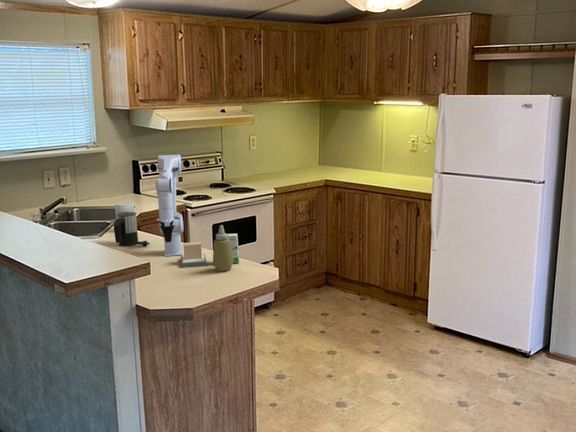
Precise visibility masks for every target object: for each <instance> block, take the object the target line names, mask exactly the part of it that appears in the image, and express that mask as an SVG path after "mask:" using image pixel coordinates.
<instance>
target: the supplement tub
mask: <svg viewBox="0 0 576 432" xmlns="http://www.w3.org/2000/svg"><path fill="white" fill-rule="evenodd" d="M114 210H115V211H114V212H115V213H114V214H115V220H117V219H118V215H117V214H119V213H124V212H135V204H134V202H131V201H121V202H117V203H115V205H114Z"/></svg>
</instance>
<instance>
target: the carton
mask: <svg viewBox="0 0 576 432" xmlns="http://www.w3.org/2000/svg"><path fill="white" fill-rule="evenodd" d="M202 253H203V252H202V243H201V241H193V242H191V241H190V242H183V254H184V258H185V260H186V259H199V258H202Z"/></svg>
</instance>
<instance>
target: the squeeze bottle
mask: <svg viewBox="0 0 576 432" xmlns="http://www.w3.org/2000/svg"><path fill="white" fill-rule="evenodd" d="M228 234H229V233H227V232H226V233H225V229H224V225H223V224H221V225H220V224H219V228H218V233H216V234H215V239H214V240H213V251H212V253H213V254H212V262H213V265H214V268H215V270H216V271H218V272H227V271H231V270H232V267H233V264H232V263H233V255H232V248H231V242H230V240H229V239H227V238H228Z"/></svg>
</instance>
